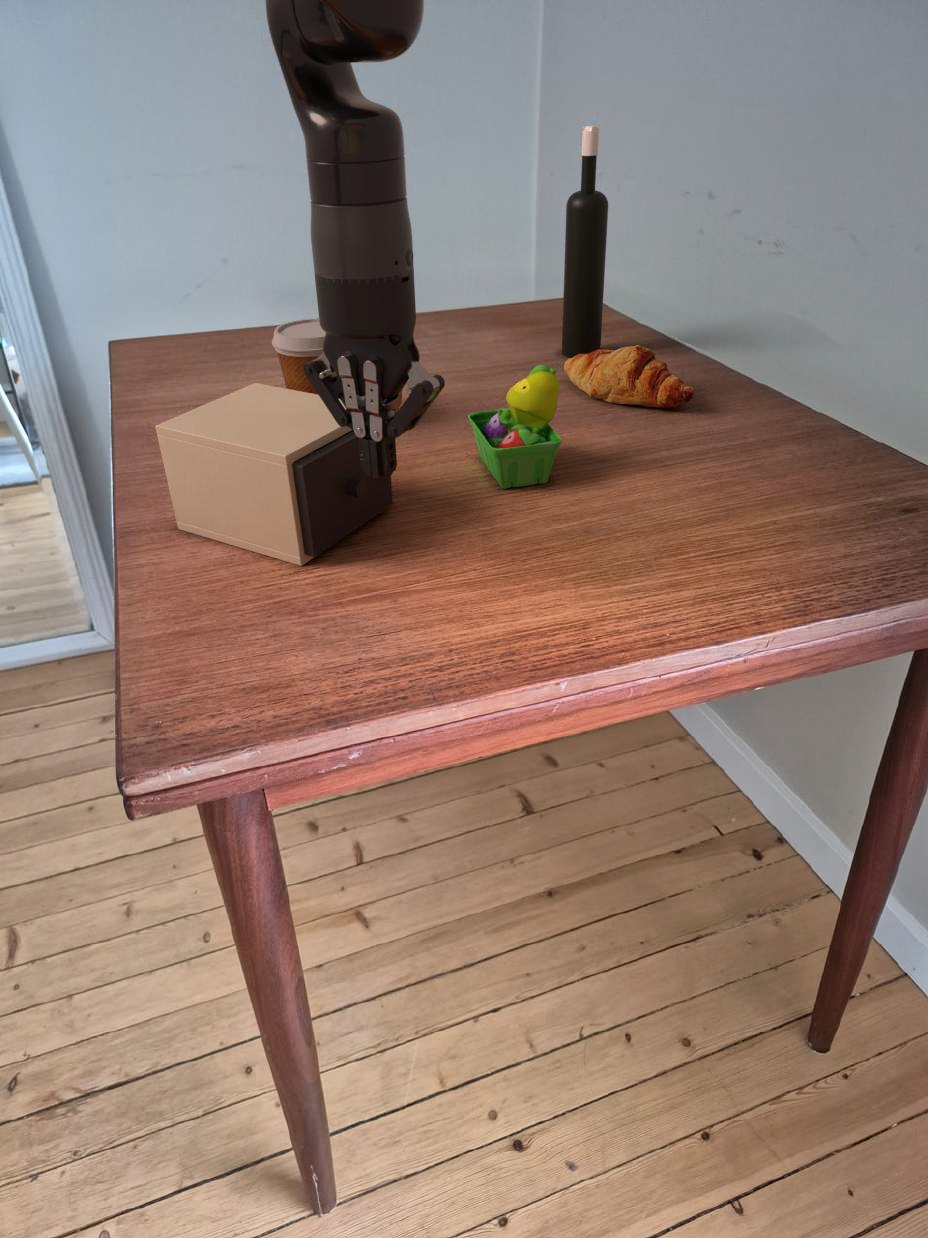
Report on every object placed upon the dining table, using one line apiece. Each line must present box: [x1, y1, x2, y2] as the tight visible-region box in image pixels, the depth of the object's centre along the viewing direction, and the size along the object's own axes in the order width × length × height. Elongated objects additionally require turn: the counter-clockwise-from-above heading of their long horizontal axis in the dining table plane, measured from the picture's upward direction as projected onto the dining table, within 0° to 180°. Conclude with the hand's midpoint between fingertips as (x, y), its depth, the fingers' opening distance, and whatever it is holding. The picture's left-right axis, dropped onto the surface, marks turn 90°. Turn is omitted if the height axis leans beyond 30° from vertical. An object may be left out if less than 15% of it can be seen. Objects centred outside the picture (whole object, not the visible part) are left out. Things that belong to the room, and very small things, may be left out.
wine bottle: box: [561, 125, 609, 358], centre depth 127 cm, size 6×6×30 cm
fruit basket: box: [467, 364, 563, 490], centre depth 96 cm, size 11×9×11 cm
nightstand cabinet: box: [154, 382, 352, 567], centre depth 88 cm, size 16×14×11 cm
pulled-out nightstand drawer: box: [292, 430, 394, 558], centre depth 87 cm, size 16×13×9 cm
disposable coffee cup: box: [271, 317, 339, 399], centre depth 109 cm, size 10×10×12 cm
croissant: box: [563, 344, 695, 409], centre depth 117 cm, size 21×10×8 cm, turn 43°
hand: (379, 476), depth 77 cm, fingers closed
